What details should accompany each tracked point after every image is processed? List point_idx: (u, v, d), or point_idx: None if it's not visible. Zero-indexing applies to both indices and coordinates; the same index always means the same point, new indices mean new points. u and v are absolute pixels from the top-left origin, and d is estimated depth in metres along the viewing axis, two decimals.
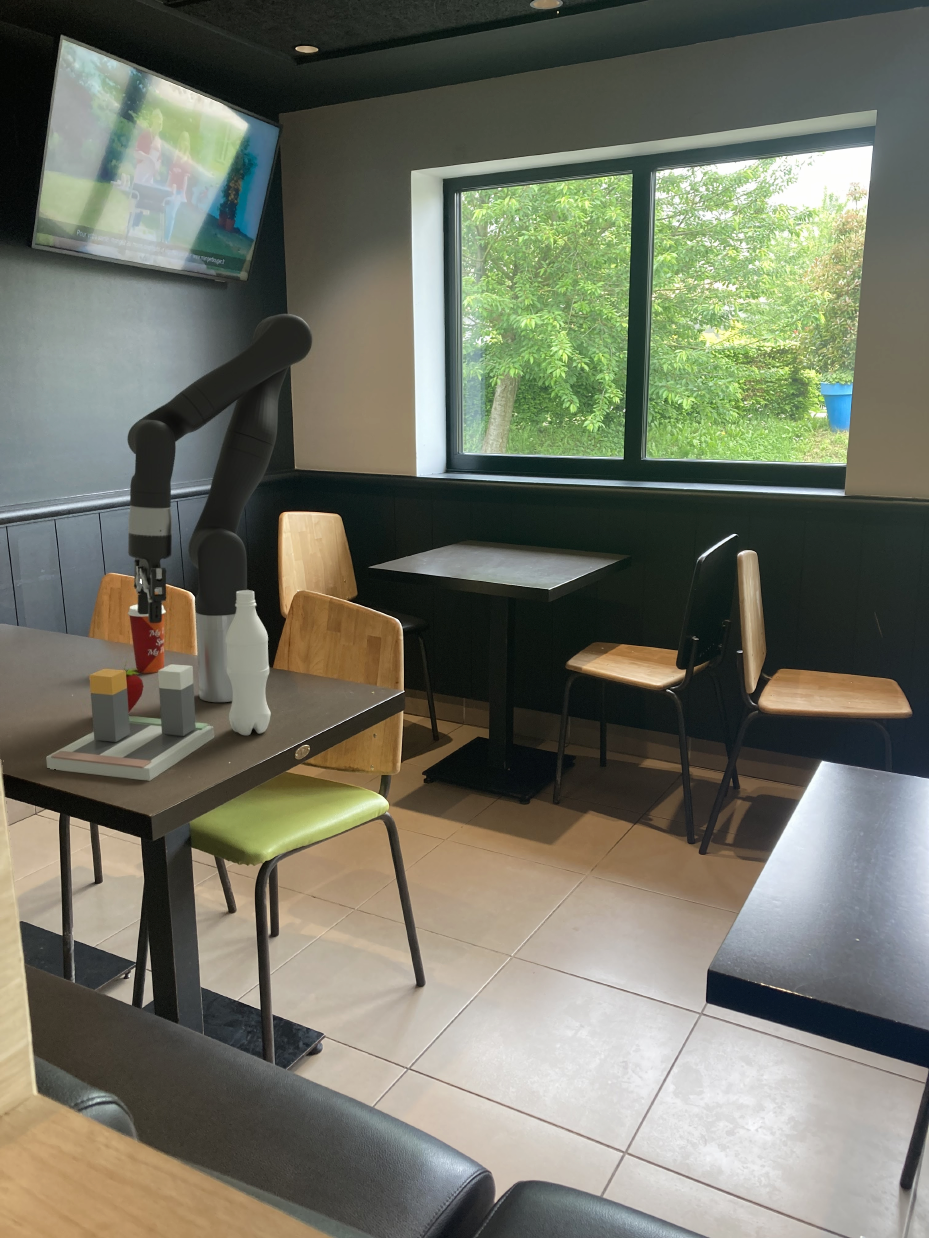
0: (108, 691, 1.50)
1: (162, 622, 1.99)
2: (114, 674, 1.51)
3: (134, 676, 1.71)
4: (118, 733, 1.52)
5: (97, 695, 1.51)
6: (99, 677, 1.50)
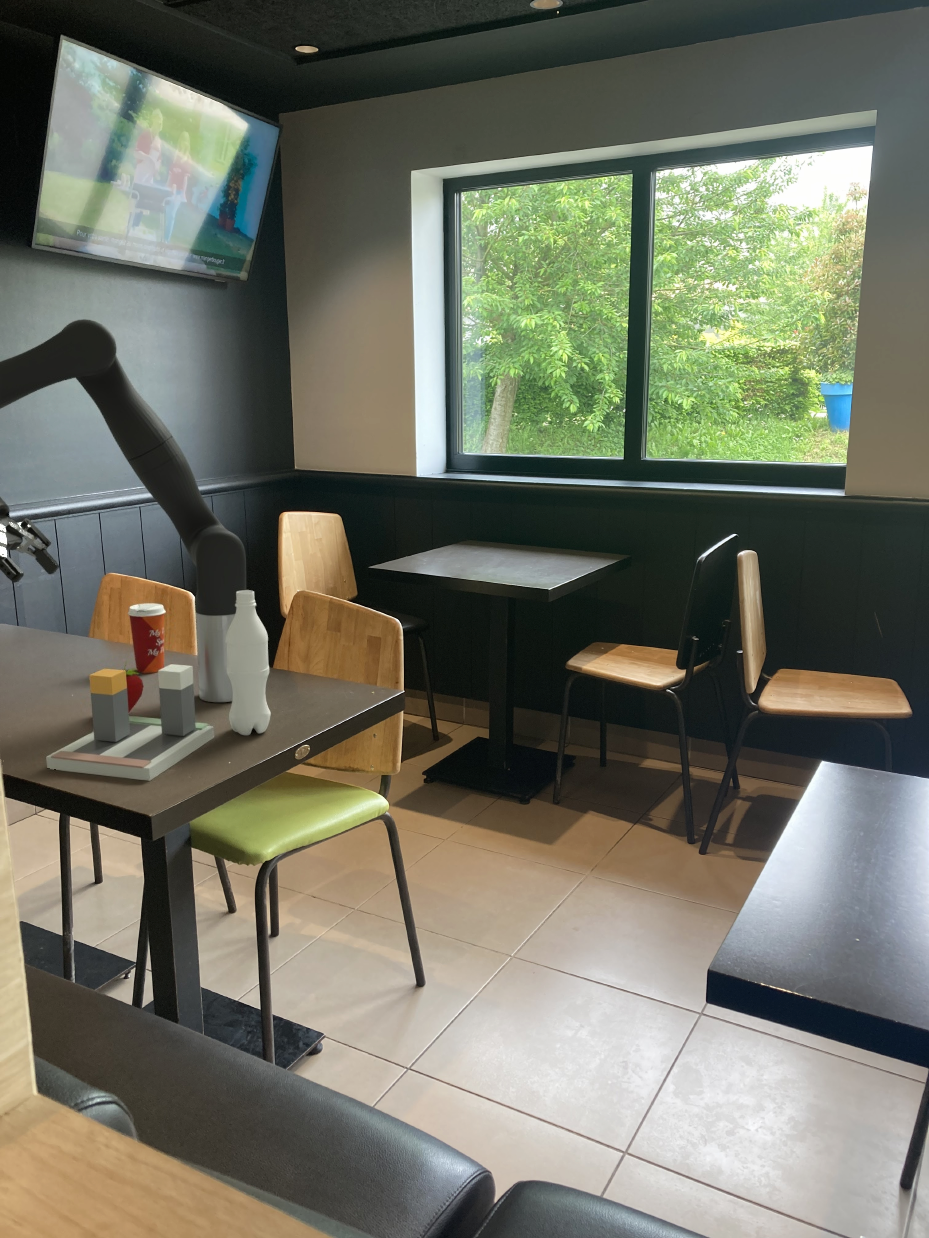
0: (108, 691, 1.50)
1: (162, 622, 1.99)
2: (114, 674, 1.51)
3: (134, 676, 1.71)
4: (118, 733, 1.52)
5: (97, 695, 1.51)
6: (99, 677, 1.50)
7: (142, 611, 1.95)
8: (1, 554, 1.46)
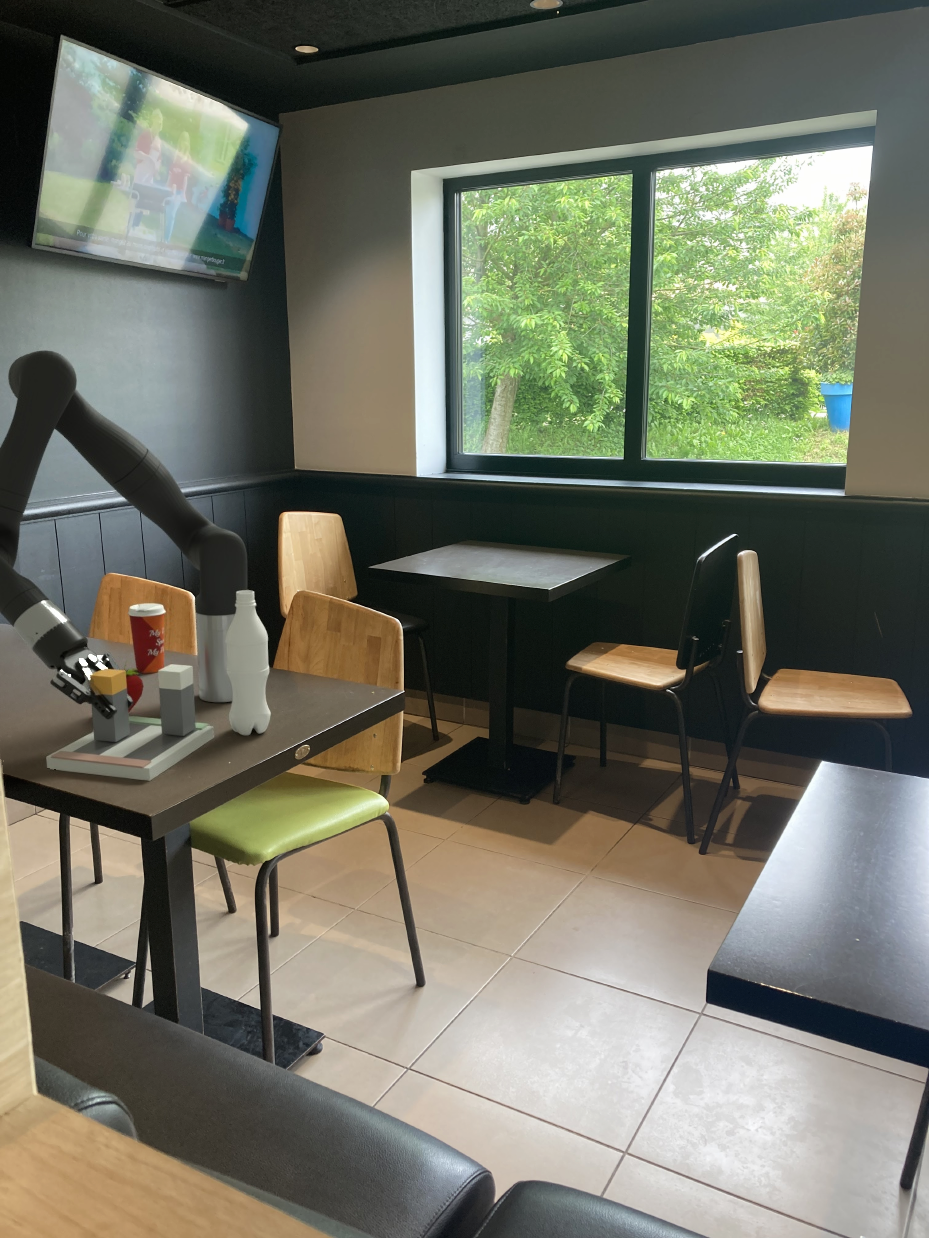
0: (108, 691, 1.50)
1: (162, 622, 1.99)
2: (114, 674, 1.51)
3: (134, 676, 1.71)
4: (118, 733, 1.52)
5: None
6: (98, 677, 1.50)
7: (142, 611, 1.95)
8: (96, 693, 1.49)
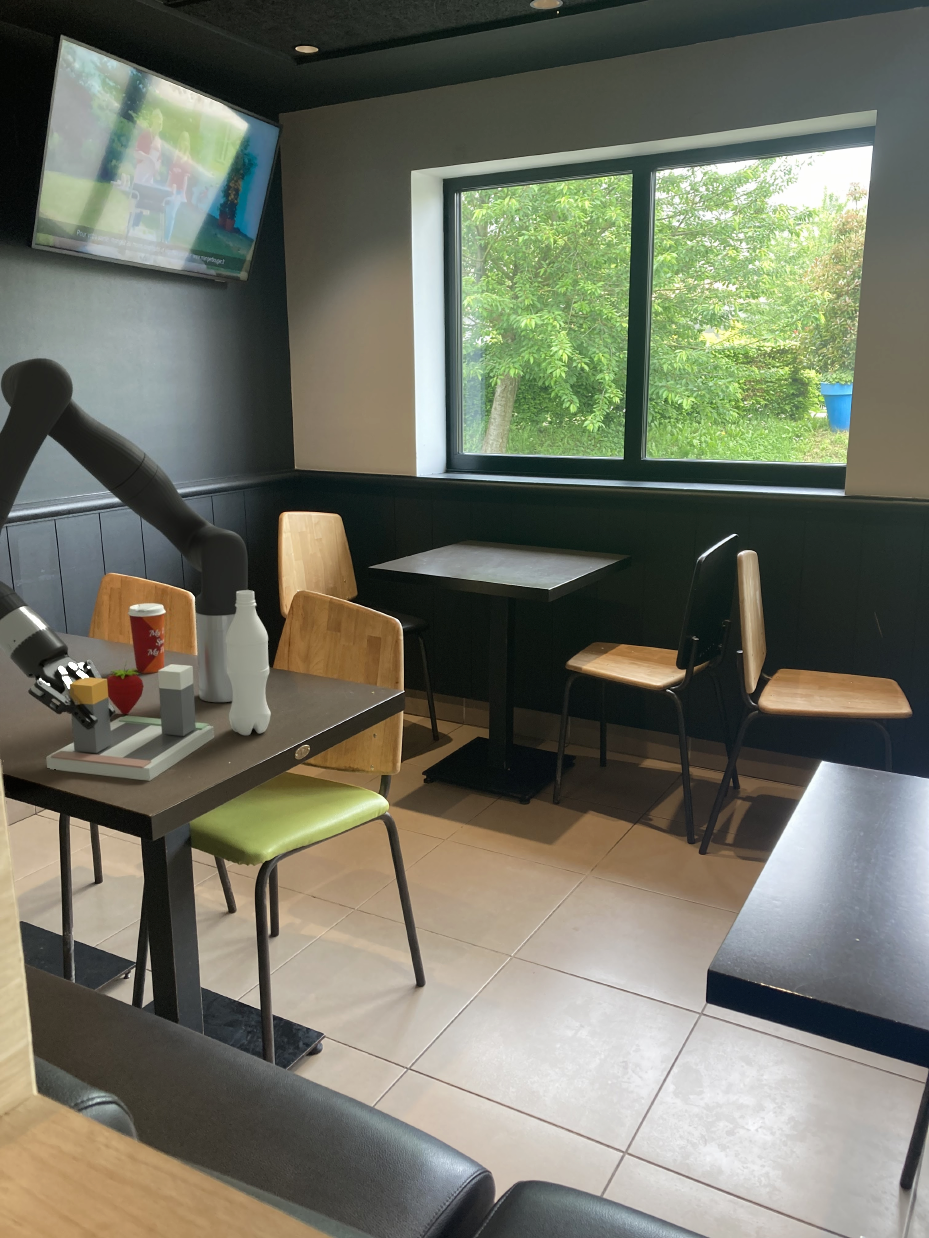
0: (88, 700, 1.45)
1: (162, 622, 1.99)
2: (95, 683, 1.46)
3: (134, 676, 1.71)
4: (99, 743, 1.47)
5: None
6: (78, 686, 1.45)
7: (142, 611, 1.95)
8: (76, 703, 1.44)
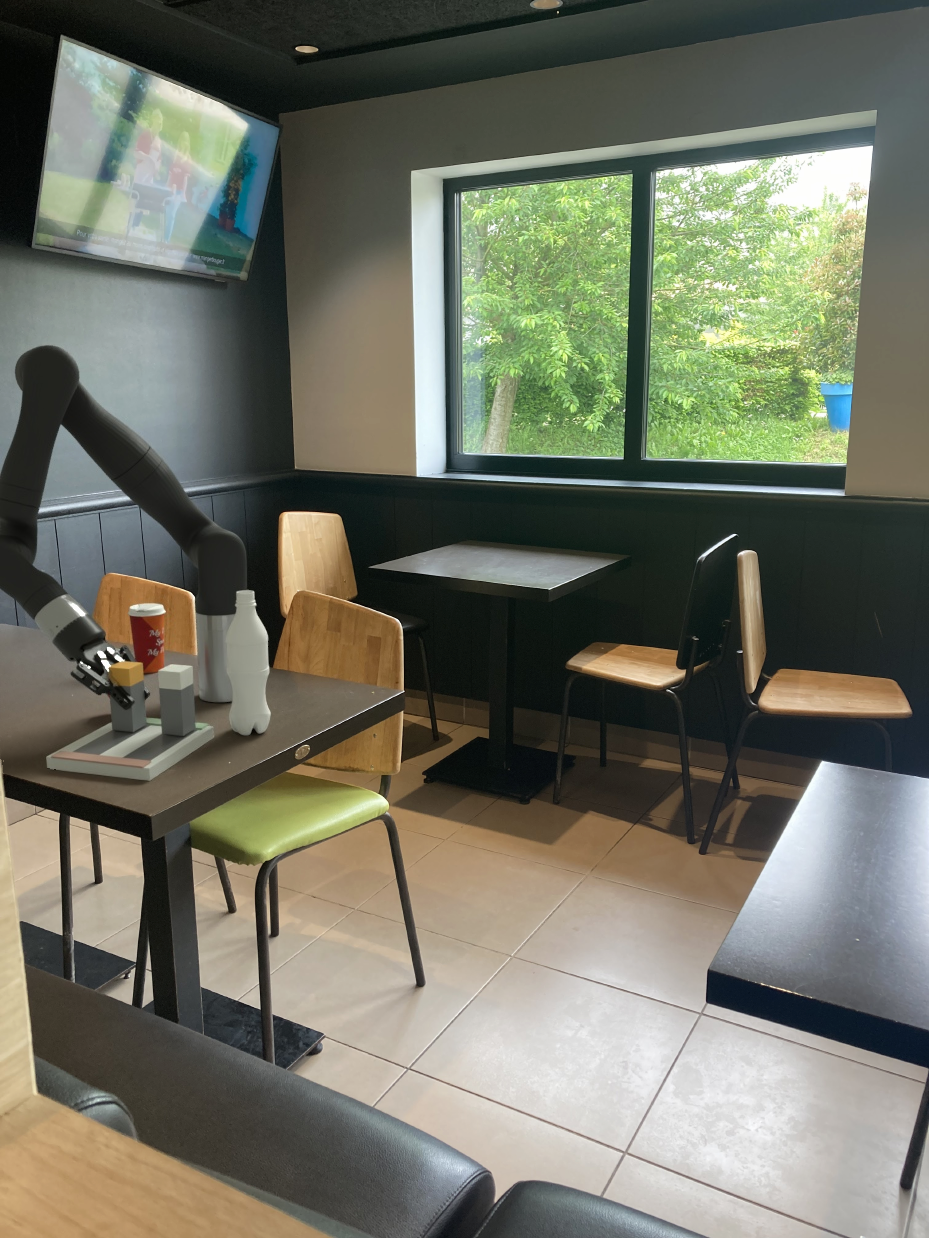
0: (126, 683, 1.55)
1: (162, 622, 1.99)
2: (132, 666, 1.56)
3: None
4: (135, 723, 1.57)
5: None
6: (117, 669, 1.55)
7: (142, 611, 1.95)
8: (115, 684, 1.54)
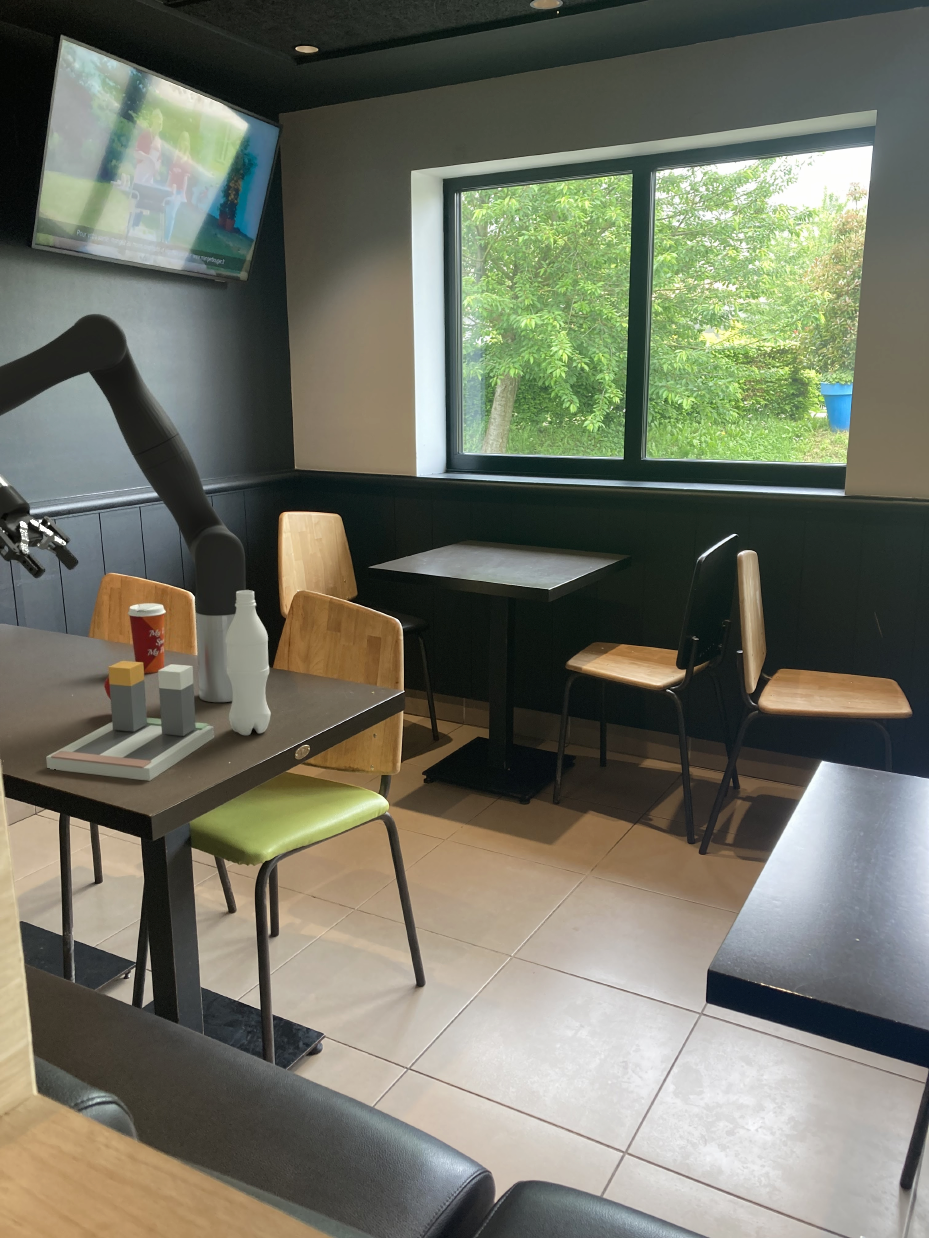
0: (126, 682, 1.55)
1: (162, 622, 1.99)
2: (132, 666, 1.56)
3: None
4: (136, 723, 1.57)
5: (116, 686, 1.56)
6: (117, 668, 1.55)
7: (142, 611, 1.95)
8: (23, 551, 1.51)
